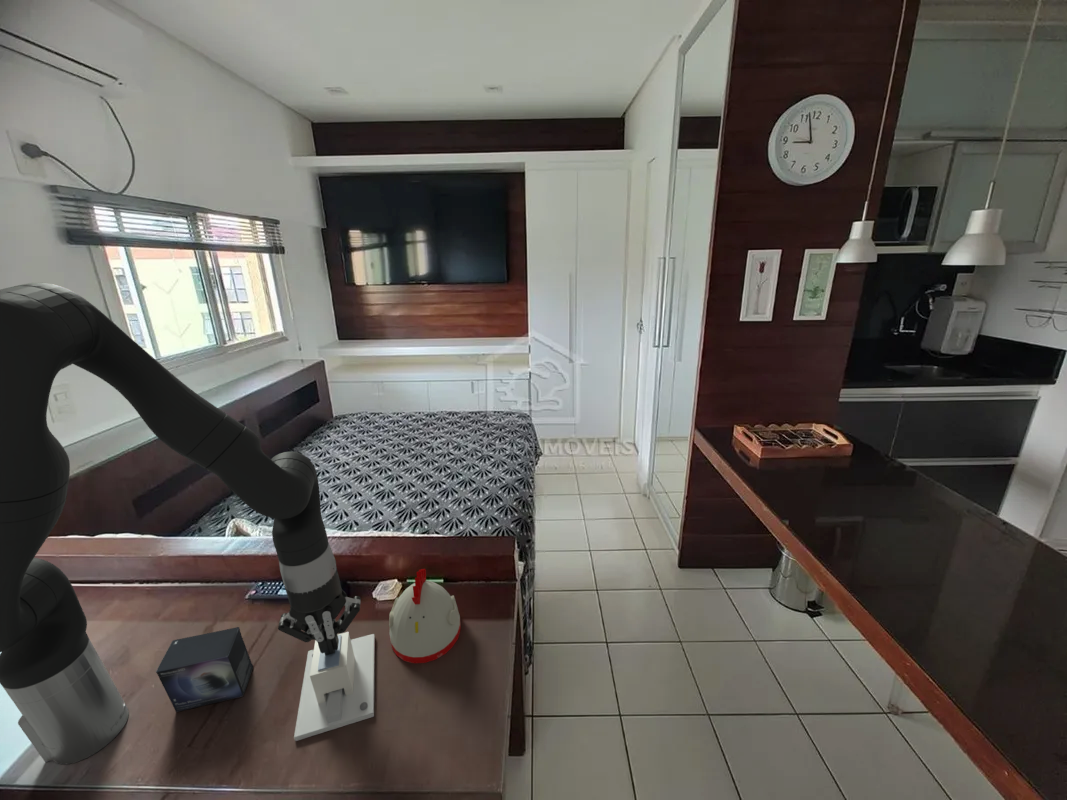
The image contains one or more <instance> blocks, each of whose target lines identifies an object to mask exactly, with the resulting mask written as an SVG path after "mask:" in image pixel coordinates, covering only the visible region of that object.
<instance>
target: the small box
mask: <svg viewBox="0 0 1067 800" xmlns="http://www.w3.org/2000/svg"><path fill="white" fill-rule="evenodd" d="M249 654H250V653H249V652H248V649H247V646H246V644H245V641H244V638H243V636H242V633H241V629H240V627H239V626H235V627H231V628H228V629H227V628H226V629H221V630H217V631H212V632H208V633H203V634H197V635H193V636H187V637H184V638H177V639H173V640H172V641H171V643H170V644H169V647H168V648H167V650H166V651H165V654H164V656H163V657H162V660H161V661H160V663H159V665H158V667H157V669H156V670H155V673H156V675H157V676H158V678H159V681H160V682H161V684H162V687H163V689H164V692H166V694H167V696H168V698H169V701H170V703H171V705H172V707H173V709H174V712H176V713H178V712H183V711H187V710H190V709H196V708H199V707H204V706H207V705H213V704H217V703H222V702H224V701H229V700H235V699H238V698H242V697H244V695H245V693H246V690H247V687H248V683H249V680H250V678H251V675H252V672H253V669H254V665H253V662H252V660H251V658H250V655H249Z"/></svg>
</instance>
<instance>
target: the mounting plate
mask: <svg viewBox="0 0 1067 800" xmlns="http://www.w3.org/2000/svg"><path fill="white" fill-rule="evenodd" d="M375 639H376V637H375V633H372V634H367V635H362V636H360V637H356V638H352V639H351V643H352V648H353V652H354V656H355V669H354V688H353V694H350V695H347V696H346V695H345V691H344V688H342V689H339V690H336V691H332V692H329V693H327V696H326V702H324V703H320V704H318V702H317V698H316V695H315V692H314V688H313V685H312V682H311V678H310V671H311V665H312V658H313V652H314V649H311V650H308V651H307V656H306V663H305V669H304V674H303V680H302V685H301V686H302V687H301V692H300V699H299V705H298V709H297V717H296V723H295V728H294V734H293V735H294V736H293V740H294V741H295V742H297V741H301V740H305V739H307V738H310V737H313V736H317V735H319V734H323V733H325V732H328V731H333V730H336V729H339V728H342V727H344V726H349V725H352V724H355V723H357V722H361V721H364V720H367V719H370V718H373V717H375V664H376V663H375V659H376V658H375V657H376V656H375V654H376V651H375V649H376V648H375V647H376V645H375V644H376V642H375V641H376V640H375Z"/></svg>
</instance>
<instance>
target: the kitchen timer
mask: <svg viewBox="0 0 1067 800" xmlns="http://www.w3.org/2000/svg"><path fill="white" fill-rule="evenodd" d="M388 617H389V619H388V627H389V631H388V632H389V640H390V645H391V649H392V651H393V652H394V653H395V654H394V655H396V656H397V657H398V658H400V659H401V660H402V661H404V662H407V663H410V664H426V663H429V662H433V661H435V660H437V659H439V658H441V657H442V656H445V655H446V654H447V653H448V652H449V651H450V650H451V649H452V648H453V647H454V646H455V644H456V643H457V641H458V639H459V637H460V634H461V630H462V629H461V616H460V613H459V608H458V605H457V602H456V598H455V595H451V594H450V593H449V592H448V591H447V590H446V589H445V588H444V587H443V586H442V585H440V584H438V583H436V582H435V581H429V580H427V570H426V568H421V569H418V571H416V577H414V582H413V583H412V584H410V585H409V586H408V587H406V588H405V590H403V592H402V593H401V594H400V596H399V597H396V598H395V599H394V603H393V605H392V608H391V611H390V612H389V616H388Z"/></svg>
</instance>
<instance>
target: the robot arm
mask: <svg viewBox="0 0 1067 800" xmlns="http://www.w3.org/2000/svg"><path fill="white" fill-rule="evenodd" d="M72 365H74V366H76V367H79V368H80V369H82V370H85V371H86V372H88V373H89V374H93V375H94V376H96V377H98V378H99V379H101V380H103V381H104V382H106V383H107V384H108V385H110V386H111V387H113V389H115V390H116V391H117V392H119V393H120V394H121V396H123V398H124V399H125V400H127V402H128V403H129V404H130V405H131V406H132V407H133V409H135V411H136V412H137V414H138V416H140V418H141V419H142V420H143V422H144V423H145V425H146V426H147V427H148V428H149V430H150V431H151V432H152V433H153V434H154V435H155V437H157V438H158V439H159V440H160V441H161V442H162V443H163V444H164V445H165V446H167V447H168V448H170V449H171V450H173V451H174V452H176V453H177V454H178V455H180V456H182V457H184V458H185V459H187V460H189V461H191V462H193V463H194V464H196V465H197V466H199V467H201V468H203V469H205V470H206V471H208V472H211V473H212V474H214V475H215V476H217V477H218V478H219V479H220V480H221V482H222V483H223V484H224V485H225V486H226V487H227V488H228V489H229V490H230V491H232V493H233V494H235V495H236V497H238V498H239V499H240V500H241V501H242V502H243V503H244V504H245V505H246V506H248V507H249V508H250V509H251V510H252V511H255V512H256V513H258V514H260V515H262V516H264V517H267V518H270V519H273V524H272V529H271V533H272V534H271V535H272V536H271V537H272V542H273V546H274V549H275V552H276V555H277V558H278V565H279V571H280V572H279V573H280V576H281V579H282V583H283V585H284V589H285V593H286V596H287V600H288V602H289V605H290V606H289V607H290V609H289V610H288V612H284V613H282V614H281V615H280V620H279V623H278V627H277V630H278V631H280V632H283V634H286V635H289V636H291V637H292V638H295V639H298V640H299V641H301V642H304V643H309V642H311V641H312V640H313V641H315V640H316V641H317V642H318V645H319V649H320V652H321V653H325V656H327V655H330V654H334V653H335V650H337V649H338V643H339V639H338V634H341V633H345V632H347V631H346V630H347V629H348V628H349V626H350V625H351V623H352V622H353V620H354V619H355V618H356V616H357V615H358V613H359V612H360V610H361V599H362V598H361V596H359V595H355V596H353V598H352V597H348V595H347V593H346V592H345V591H344V590H343V589H342V585H341V581H340V577H339V573H338V569H337V561H336V558H335V555H334V553H333V549H332V547H331V546H330V545H331V544H330V543H329V539H328V536H327V535H328V534H327V530H326V526H325V523H324V521H323V516H322V510H321V509H322V508H321V496H320V495H321V494H320V485H319V477H318V473H317V470H316V468H315V466H314V463H313V462H312V461H311V459H309V458H308V457H307V456H306V455H304V454H302V453H301V452H297V451H284V452H280V453H278V454H276V455H274V456H273V457H272V458H270V456H268V455H267V454H265V452H264V451H263V449H262V443H261V438H260V437H259V435H258V434H256V432H254V431H253V430H252V429H250V428H249V427H247V426H245V425H244V424H243V423H242V422H240V421H238V420H237V419H235V418H233V417H232V416H231V415H229V414H228V413H226V412H225V411H223V410H221V409H220V408H218V407H217V406H215V405H214V404H212V403H211V402H209V401H208V400H206V399H205V398H204V397H202V396H201V395H200V394H198V393H197V392H195V391H194V390H193V389H191V388H190V387H188V385H187V384H185V383H184V382H182V381H181V380H180V379H179V378H178V377H176V376H175V375H174V374H173V373H172V372H170V370H168V369H167V368H166V367H164V366H163V365H162V364H161V363H160V362H159V361H158V360H157V359H155V358H154V357H153V356H152V355H151V354H150V353H148V352H147V351H146V349H144V348H143V347H142V346H141V345H139V344H138V343H137V342H136V341H135V340H133V338H131V337H130V336H129V335H128V334H127V333H126V332H125V331H124V330H123V329H121V328H120V327H119V326H118V325H117V324H116V323H115V322H114V321H112V320H111V319H110V318H109V317H108V316H107V315H106V314H105V313H104V312H102V311H101V310H99V309H98V307H97V306H95V305H94V304H92V303H91V302H90V301H89V300H87V299H86V298H85V297H83V296H82V295H80V294H78V293H77V292H75V291H73V290H71V289H69V288H67V287H63V286H60V285H58V284H53V283H48V282H29V283H24V284H19V285H15V286H10V287H6V288H5V287H4V288H2V289H0V686H1V687H2V688H3V690H4V691H5V692H6V694H7V695H8V696H9V698H10V699H11V701H12V702H13V704H14V705H15V707H16V708H17V709H18V711H19V712H20V713H21V716H20V718H19V719H18V722H17V724H18V726H19V728H20V729H21V731H23V733H24V734H25V736H26V737H27V739H28V740H29V742H30V743H31V744H32V746H33V748H34V749H35V750H36V752H37V753H38V755H40V757H41V758H42V760H43V761H44V762H45V763H48V762H51V761H52V762H53V761H54V762H55V763H57V764H60V765H70V764H73V763H78V762H80V761H83V760H85V759H88V758H89V757H91V756H93V755H95V754H97V752H99V751H100V750H102V749H104V748H105V747H106V746H107V745H109V743H110V742H112V741H114V739H115V737H117V736H118V734H119V733H120V732H121V731H122V730H123V728H124V727H125V725H126V723H127V722H128V720H129V719H128V718H129V713H130V711H129V708H128V706H127V704H126V703H125V701H124V699H123V696H122V695H121V694H120V691H119V689H118V687H117V686H116V684H115V682H114V680H113V679H112V677H111V676H110V674H109V672H108V670H107V668H106V666H105V664H104V662H103V660H102V659H101V657H100V655H99V654H98V651H97V650H96V648H95V646H94V645H93V642H92V640H91V639H90V637H89V635H88V633H87V628H88V622H87V617H86V615H85V612H84V609H83V608H82V606H81V603H80V601H79V599H78V596H77V594H76V591H75V589H74V586H73V584H72V583H71V581H70V580H69V578H68V577H67V575H66V574H65V573H64V572H63V571H62V569H60V568H59V567H58V566H56V565H55V564H54V563H52V562H50V561H48V560H45V559H42V558H39V557H36V555H37V554H38V552H39V551H40V549H41V548H42V546H43V545H44V543H45V542H46V541H47V539H48V537H49V535H50V533H52V531H53V529H54V527H55V525H56V524H57V523H58V521H59V519H60V517H61V515H62V513H63V511H64V507H65V504H66V501H67V495H68V490H69V489H68V488H69V481H70V475H71V474H70V473H71V472H70V471H71V467H70V459H69V455H68V453H67V451H66V450H65V448H64V447H63V445H62V444H61V442H60V441H59V440H58V439H57V438H56V436H55V435H54V434H53V433H52V432H51V431H50V429H49V427H48V423H47V413H48V406H49V400H50V394H51V390H52V387H53V384H54V380H55V378H56V376H57V375H58V374H59V372H60V371H61V370H64V369H65V368H68V367H69V366H72ZM344 606H345V607H344ZM343 608H344V611H343V612H342V613H341V611H342V610H343ZM340 613H341V615H340V616H339V618H338V620H337V621H336V618H337V617H338V615H339V614H340Z"/></svg>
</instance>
